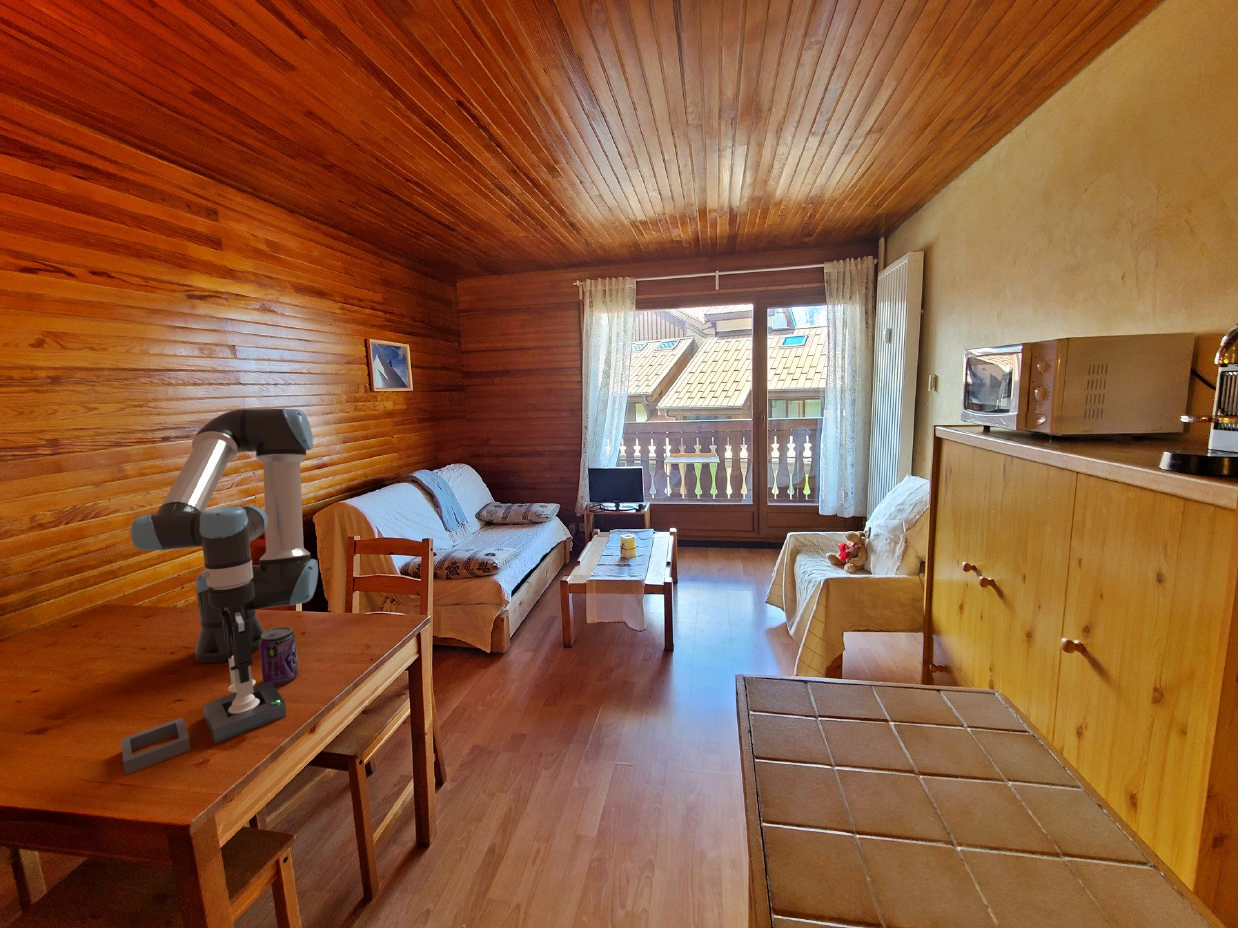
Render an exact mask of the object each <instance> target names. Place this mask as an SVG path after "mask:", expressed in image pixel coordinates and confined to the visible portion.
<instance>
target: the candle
mask: <svg viewBox="0 0 1238 928" xmlns="http://www.w3.org/2000/svg"><path fill="white" fill-rule="evenodd" d="M231 661H232V665H231V667H233V666H234V665H235V663H234V656H232V657H231ZM232 671H233V680H234V684H232V685H230V686H228V687H227V691H228V692H229V693H236V684H235V676H234V670H232ZM252 682H253V686H255V685H256V679H253V678H252ZM259 702H260V700H259V699H257V698H255V696H254V695H252V694H250V695H247V696H244V697H241V698H237V695H236V698H235V700H233V702H232V706H230V708H229V709H228V712H229V713H231V715H236V714H239V713H242V712H244V711H247V710H250V709H252V708H255V707H258V706H259V705H260V704H259Z"/></svg>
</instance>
